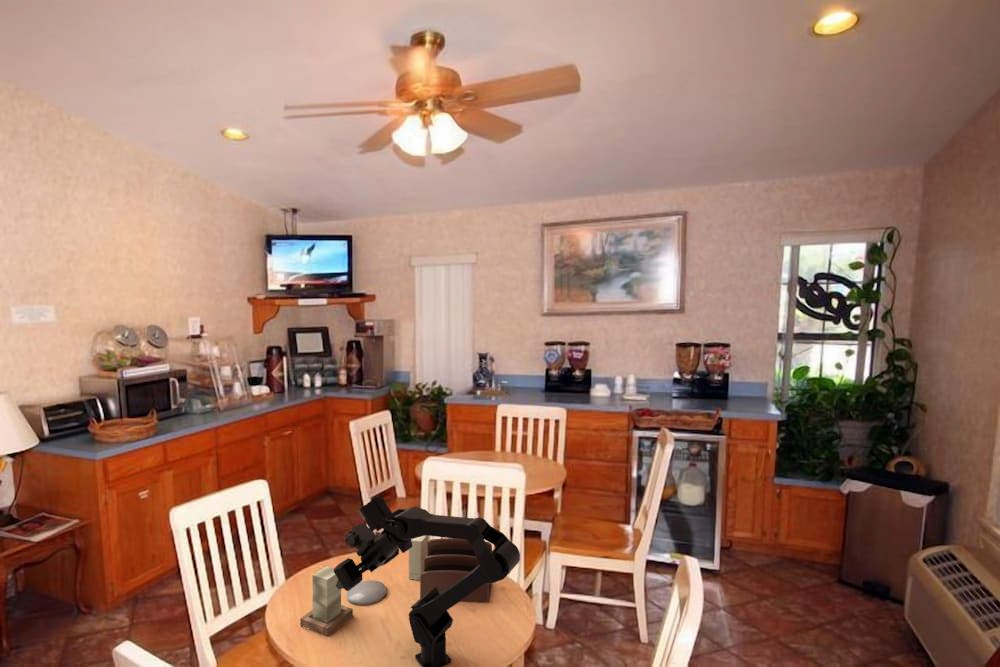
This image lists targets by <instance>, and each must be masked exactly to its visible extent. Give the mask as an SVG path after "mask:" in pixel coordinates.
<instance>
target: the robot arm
mask: <svg viewBox="0 0 1000 667" xmlns="http://www.w3.org/2000/svg"><path fill="white" fill-rule="evenodd" d="M358 512H359V514H360V516H361V517H362V519H363V520H364V522H365V523H358V524H357V525H356V526H353V527H351V529H350V530H349V531H348V532H347V533H346V534H345V535H344V537H345V538H344V542H345V544H346V545H347V546H348V547H349V548H351V549H352V548H354V547H355V548H356V549H357V551H356V554H357V556H358V557H360V561H361V562H359V563H357V564H356V562H355V561H354V560H353V558H349V557H348V558H346V559H345V560H343V561H342V562H340V563H338V564H337V565H336V566H334V567H333V568H334V573H335V575H336V576H337V578H338V581H337V583H336V587H337V589H341V590H344V591H346V592H347V591H349V590H351V589H352V588H353V587H355V586H356V585H357V584H359V583H360V582H363V574H364V573H365V572H366V571H369V572H370V573H373V572H374V571H375V570H377V569H378V568H379V567H382V566H385V565H387V564H389V563H390V562H391V561H392V560H394V559H395V558H396V557H397V556H398V555H399V554H400V552H401V553H402V554H404V553H406V552H408V551H409V549H410V548H411V547H412V542H411V539H414V538H417V537H421V536H428V537H439V538H444V539H445V538H454V539H463V540H468V542H469V543H470V544H471V545H472V547H473V550H474V552H475V555H476V558H477V560H478V561H479V562H480V564H479V566H477V567H476V568H475V569H473V570H472V571H470V572H469V573H468V574H466V575H465V576H464V577H462V578H461V579H459V580H458V581H457V582H455V583H454V584H452V585H451V586H450V587H448V588H447V589H445V590H444V591H442V592H438V589H437V587H435V588H434V589H432V590H431V591H430V592H428V593H426V594H425V595H424V596H423V597H421V598H420V597H419V599H418V600H416V602H415V603H414V604H413V605H412V606H410V609H411V610H410V612H409V614H408V620H409V621H408V622H409V626H410V630H411V632H412V636H413V639H414V642H415V643H417V644H418V645H419V646H420V652H418V653H417V654H415V655H414V659H415V660H416V661H417V662H418V664H419V665H420V667H444V666H447V665H449V664H451V663H452V658H451V657H450V656H449V654H447V652H446V651H447V650H446V649H447V648H446V646H447V645H446V644H447V642H446V641H447V638H446V636H447V635H446V634H447V633H446V632H447V631H448V630H449V629H450V628H451V627H452V624H453V622H454V619H453V617H452V616H451V615H450V612H449V611H448V610H450V609H451V608H453V607H454V606H455V605H458V603H460V602H462V601H461V600H463V599H464V598H466V597H467V596H468V595H470V594H471V593H473V592H474V591H476V590H477V589H478V588H480V587H481V586H483V585H484V584H492V585H493V584H494V583H498V582H499V581H502V580H505V579H506V578H507V577H508V575H509V574H510V573H511V572H512V571H513V569H514V568H515V567H516V566H517V565H518V564H519V563H520V560H521V552H520V550H519V548H518V547H517V545H516V544H515V543H514V542H512V541H511V539H509V538H508V537H507V536H506V535H505V534H504V533H503V532H502V531H500V530H498V529H496V528H495V527H493V526H491V524H490V523H489V522H487V520H486V519H485V518H483V517H475V518H474V517H462V516H461V517H460V516H453V515H452V516H451V515H450V516H449V515H440V514H434V513H433V514H432V513H430V512H429V511H428V510H426V509H425V508H420V507H418V506H410V507H408V508H398V509H396V510H394V511H391V509H390V507H389V505H388V504H387V503H386V502H385V499H384V498H383V496H382V495H381V494H379V495H377V496H375V497H373V499H371V500H370V501H369V502H368V503H366V504H364V505H363V506H361V507H360V508H359V510H358ZM375 530H376V532H379V531H381V530H382V531H381V532H380V533H379V534H378V535H376V534H375V532H374V531H375ZM485 541H486V542H489V543H491V545H494V549H492V551H490V550H489V549H488V547H487V545H486V542H485Z"/></svg>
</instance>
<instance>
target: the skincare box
mask: <svg viewBox="0 0 1000 667" xmlns="http://www.w3.org/2000/svg"><path fill="white" fill-rule="evenodd" d="M428 541H429V536H421V537H417V538H414V539H411V542H412V547H411V548H410V549H409V550H408V579H409V580H413V579H414V581H420V575H421V573H423V572H424V558H425V557H426V556H427V543H428Z"/></svg>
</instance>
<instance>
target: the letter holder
mask: <svg viewBox="0 0 1000 667" xmlns="http://www.w3.org/2000/svg"><path fill="white" fill-rule="evenodd" d="M485 542H486V545H487V547H488V549H489V550H490V551H492V550H493V544H492V543H490V542H488V541H487V540H485ZM479 564H480V562H479V561H478V560H477V558H476V555H475V552H474V550H473V547H472V545H471V544H470V543H469V542H468V540H463V539H454V538H445V537H444V538H432V539H428V543H427V556H426V557H425V558H424V572H423V573H421V575H420V580H419V581H420V583H419V584H420V585H419V586H420V588H419V599H420V598H421V597H423V596H424V595H425V594H426V593H428V592H430V591H431V590H432V589H434V588H435V587H437V589H438V592H442V591H444V590H445V589H447V588H448V587H450V586H451V585H452V584H454V583H455V582H457V581H458V580H459V579H461V578H462V577H464V576H465V575H466V574H468V573H469V572H470V571H472V570H473V569H475V568H476V567H477V566H479ZM491 586H493V583H492V584H484V585H483V586H481V587H480V588H478V589H477V590H476V591H474V592H473V593H471V594H470V595H468V596H467V597H466V598H464V599H463V600H461V601H460V602H467V603H468V602H469V603H482V602H490V597H491V593H492V592H491V591H492V587H491ZM490 592H491V593H490Z"/></svg>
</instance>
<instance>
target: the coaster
mask: <svg viewBox="0 0 1000 667" xmlns="http://www.w3.org/2000/svg"><path fill="white" fill-rule="evenodd" d="M386 595H387V586H386V585H385V583H384V582H382V581H378V580H370V579H369V580H362V581H361V582H360V583H359V584H357V585H356V586H355V587H353V588H352V589H351V590H349V591H346V600H347V601H348V603H350V604H352V605H355V606H368V605H369V606H370V605H373V604H376V603H378V602H380V601H382V600H383V599H384V598H385V596H386Z"/></svg>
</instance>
